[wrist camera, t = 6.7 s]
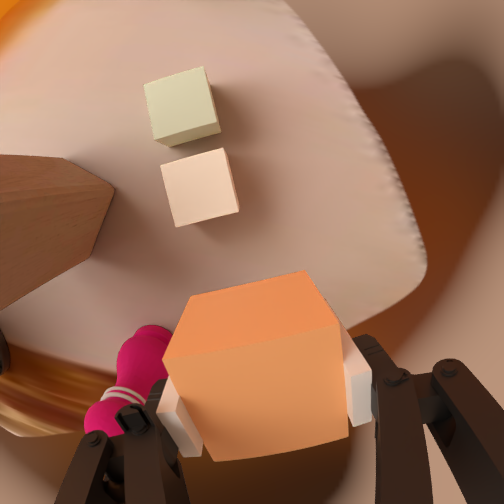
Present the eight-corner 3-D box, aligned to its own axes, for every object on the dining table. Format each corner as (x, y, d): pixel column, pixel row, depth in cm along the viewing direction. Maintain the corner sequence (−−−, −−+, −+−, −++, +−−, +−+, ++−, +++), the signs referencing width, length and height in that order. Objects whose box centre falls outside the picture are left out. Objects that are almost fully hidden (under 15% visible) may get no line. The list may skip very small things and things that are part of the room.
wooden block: (61, 155, 30) (-61, 150, 11) (120, 187, 31) (-3, 200, 12) (38, 225, 32) (-75, 262, 12) (91, 260, 33) (-17, 328, 14)
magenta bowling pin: (146, 310, 35) (74, 418, 15) (192, 343, 36) (158, 469, 17) (122, 345, 36) (55, 450, 17) (165, 375, 37) (124, 491, 18)
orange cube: (221, 385, 16) (214, 461, 11) (190, 296, 15) (161, 359, 9) (320, 364, 16) (348, 436, 10) (304, 270, 15) (339, 323, 9)
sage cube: (169, 147, 31) (154, 140, 25) (159, 99, 29) (143, 84, 24) (221, 132, 31) (216, 121, 25) (210, 85, 29) (203, 66, 23)
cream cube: (187, 219, 33) (175, 227, 27) (174, 168, 31) (160, 165, 25) (239, 206, 32) (238, 211, 27) (226, 154, 31) (223, 147, 25)
